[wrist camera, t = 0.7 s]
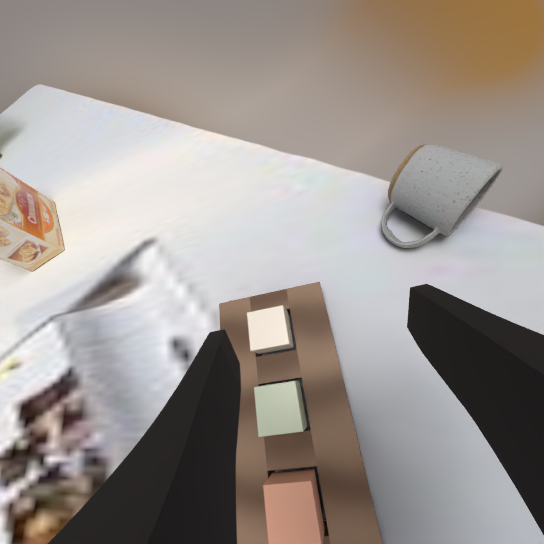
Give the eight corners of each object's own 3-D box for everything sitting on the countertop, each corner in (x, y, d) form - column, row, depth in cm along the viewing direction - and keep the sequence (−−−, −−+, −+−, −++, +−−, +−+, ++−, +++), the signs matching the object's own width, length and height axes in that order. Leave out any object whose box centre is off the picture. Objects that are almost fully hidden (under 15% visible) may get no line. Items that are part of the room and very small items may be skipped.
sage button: (307, 425, 23) (303, 431, 20) (267, 430, 23) (258, 436, 21) (299, 381, 25) (295, 380, 22) (263, 386, 25) (253, 387, 22)
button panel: (384, 555, 20) (390, 577, 18) (242, 561, 22) (231, 581, 20) (321, 289, 30) (319, 281, 28) (227, 309, 32) (219, 303, 30)
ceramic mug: (415, 174, 33) (433, 121, 26) (480, 203, 29) (521, 149, 22) (362, 230, 32) (367, 189, 25) (423, 267, 28) (448, 231, 21)
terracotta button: (324, 527, 20) (322, 550, 17) (278, 530, 20) (269, 552, 18) (314, 469, 21) (311, 481, 19) (272, 472, 22) (263, 485, 19)
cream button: (294, 347, 26) (289, 343, 23) (259, 354, 27) (250, 350, 24) (288, 312, 28) (282, 305, 25) (255, 319, 28) (246, 312, 26)
